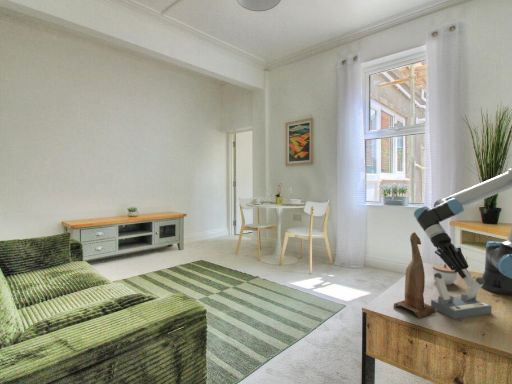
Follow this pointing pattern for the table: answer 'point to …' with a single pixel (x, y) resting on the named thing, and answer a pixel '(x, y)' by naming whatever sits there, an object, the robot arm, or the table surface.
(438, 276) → the lever
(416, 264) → the bird sculpture
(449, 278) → the lidded jar
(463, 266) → the robot arm
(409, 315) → the table surface
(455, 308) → the switch unit
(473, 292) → the marked lever
